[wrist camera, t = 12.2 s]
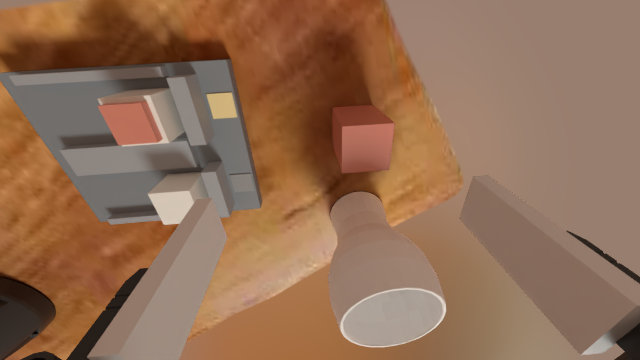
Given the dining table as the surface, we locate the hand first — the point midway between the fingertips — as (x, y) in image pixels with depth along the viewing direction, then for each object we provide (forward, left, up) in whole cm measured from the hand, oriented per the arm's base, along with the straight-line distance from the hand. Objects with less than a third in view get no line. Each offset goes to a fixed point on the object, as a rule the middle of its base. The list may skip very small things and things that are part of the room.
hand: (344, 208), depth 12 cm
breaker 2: (-16, -6, -14) cm, 22 cm away
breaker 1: (-16, +3, -14) cm, 21 cm away
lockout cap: (+4, -1, -16) cm, 17 cm away
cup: (+5, -14, -16) cm, 22 cm away
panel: (-17, -2, -16) cm, 24 cm away
